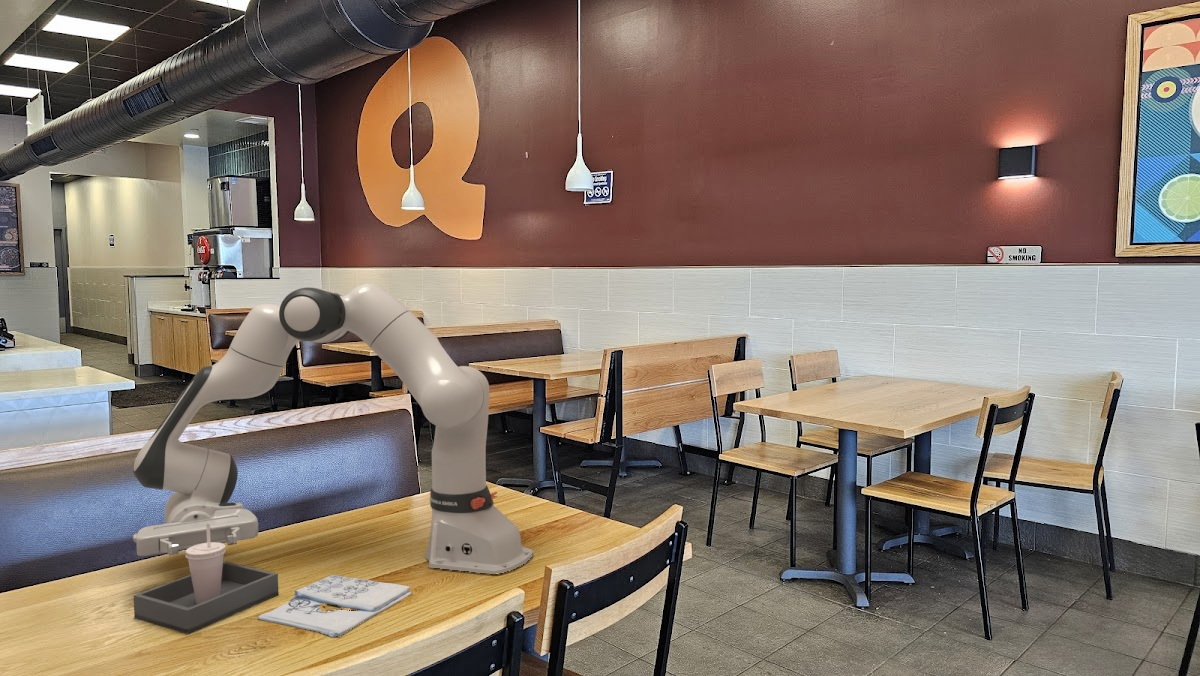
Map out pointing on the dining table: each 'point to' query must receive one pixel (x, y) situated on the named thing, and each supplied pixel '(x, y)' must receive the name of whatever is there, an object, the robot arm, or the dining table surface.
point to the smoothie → (206, 568)
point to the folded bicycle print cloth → (336, 592)
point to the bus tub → (181, 612)
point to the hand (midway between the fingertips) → (203, 545)
